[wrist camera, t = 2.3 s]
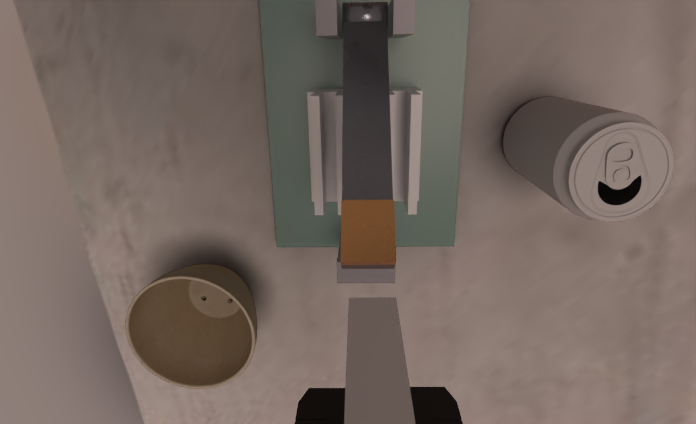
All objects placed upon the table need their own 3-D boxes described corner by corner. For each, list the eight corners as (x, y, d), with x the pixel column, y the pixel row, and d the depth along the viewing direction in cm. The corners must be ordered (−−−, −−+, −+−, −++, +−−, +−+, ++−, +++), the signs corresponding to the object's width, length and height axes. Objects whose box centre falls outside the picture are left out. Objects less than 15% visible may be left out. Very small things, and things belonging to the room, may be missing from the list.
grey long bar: (343, 17, 28) (342, -7, 26) (386, 16, 28) (387, -8, 26) (341, 270, 22) (339, 261, 21) (394, 270, 22) (397, 261, 21)
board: (260, -11, 33) (229, -31, 25) (468, -15, 33) (502, -37, 25) (278, 242, 40) (258, 290, 32) (451, 241, 39) (475, 289, 31)
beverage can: (501, 181, 38) (563, 236, 26) (497, 102, 36) (562, 125, 24) (581, 169, 37) (678, 221, 26) (581, 89, 35) (687, 106, 24)
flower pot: (261, 233, 40) (241, 270, 33) (280, 332, 43) (265, 384, 36) (150, 245, 40) (108, 284, 34) (177, 341, 44) (144, 394, 37)
